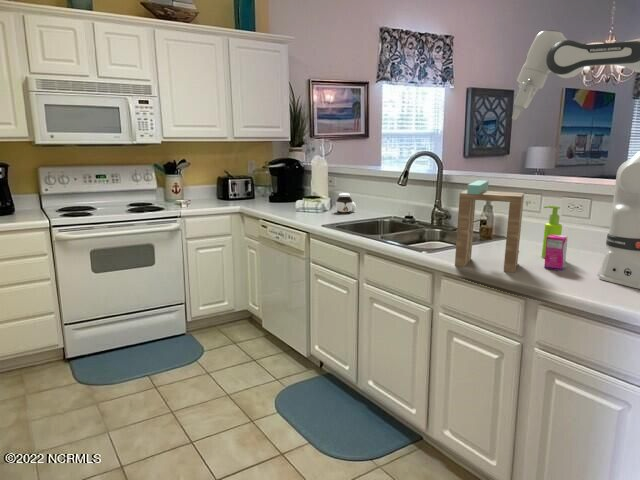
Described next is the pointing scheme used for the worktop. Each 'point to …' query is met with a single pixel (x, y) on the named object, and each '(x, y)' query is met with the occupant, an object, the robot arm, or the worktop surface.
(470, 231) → the bridge
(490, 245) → the worktop surface
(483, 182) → the bar
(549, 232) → the soap dispenser
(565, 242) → the supplement box
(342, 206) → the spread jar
